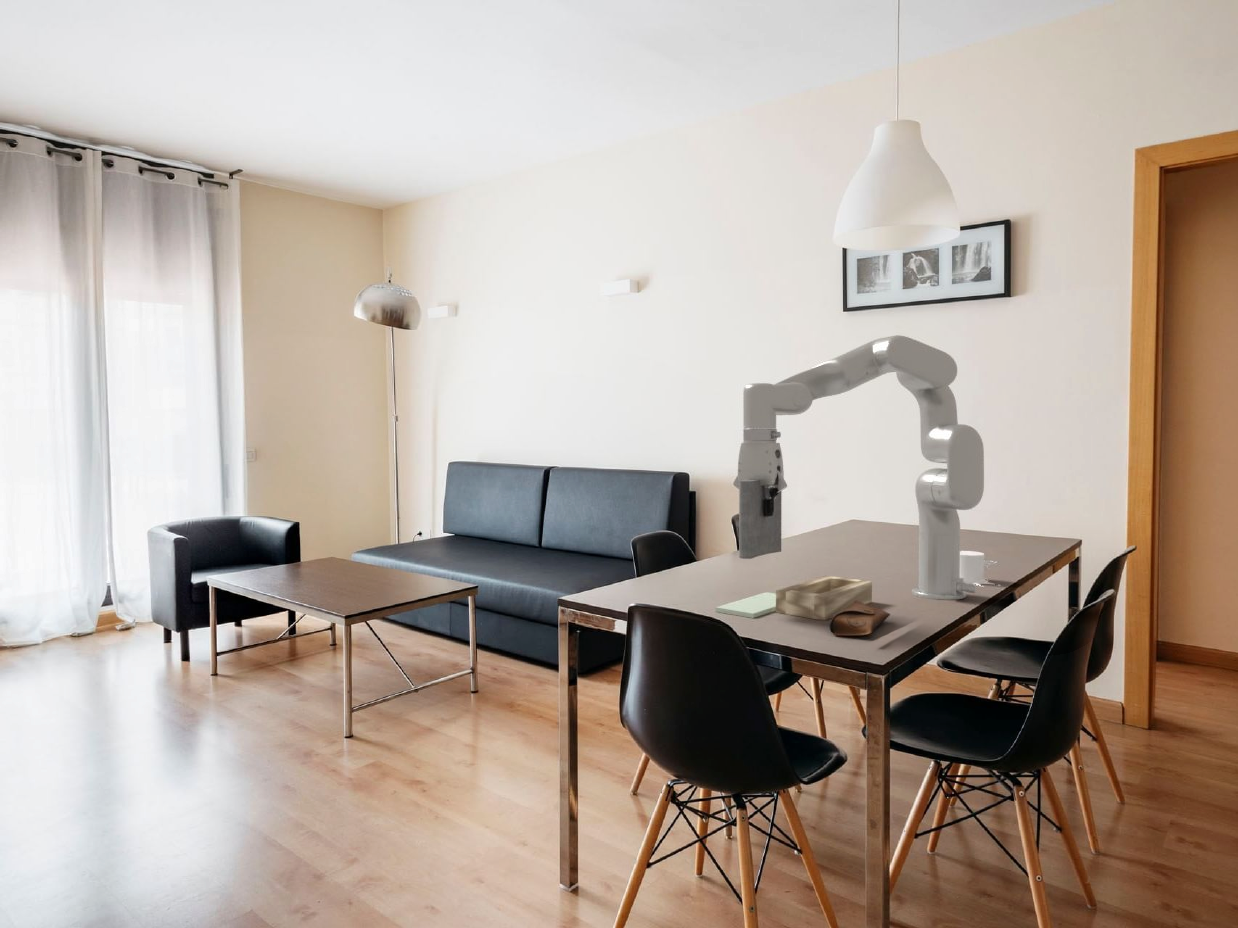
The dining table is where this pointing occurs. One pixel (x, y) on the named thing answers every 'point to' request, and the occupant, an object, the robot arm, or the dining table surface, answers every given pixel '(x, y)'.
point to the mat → (750, 606)
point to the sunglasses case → (857, 620)
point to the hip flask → (757, 521)
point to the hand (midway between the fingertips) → (759, 514)
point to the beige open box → (822, 597)
